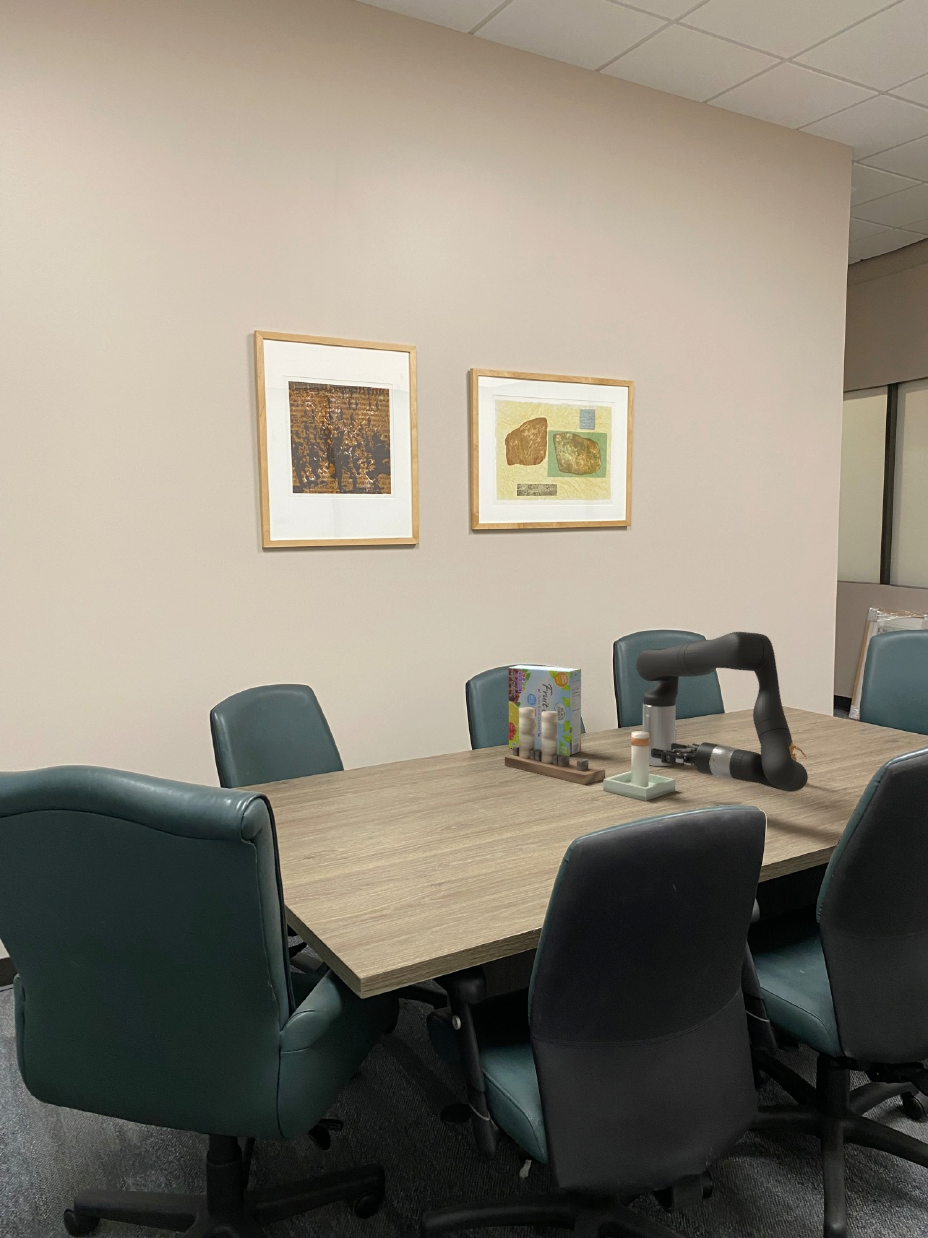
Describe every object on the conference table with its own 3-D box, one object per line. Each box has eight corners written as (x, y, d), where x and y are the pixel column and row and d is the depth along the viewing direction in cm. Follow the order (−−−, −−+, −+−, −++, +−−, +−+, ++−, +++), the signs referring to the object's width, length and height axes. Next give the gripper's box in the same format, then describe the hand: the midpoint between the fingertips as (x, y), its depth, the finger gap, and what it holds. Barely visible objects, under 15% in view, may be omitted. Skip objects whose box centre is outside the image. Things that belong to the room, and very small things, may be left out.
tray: (633, 781, 234) (633, 770, 234) (675, 790, 225) (675, 779, 224) (603, 790, 225) (603, 779, 225) (645, 801, 216) (646, 789, 215)
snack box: (582, 751, 268) (583, 668, 266) (570, 757, 261) (570, 671, 259) (520, 743, 280) (520, 663, 278) (507, 748, 273) (506, 666, 271)
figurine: (810, 783, 231) (811, 738, 230) (802, 788, 226) (803, 742, 225) (779, 778, 236) (780, 734, 235) (770, 783, 231) (771, 738, 230)
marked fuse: (637, 783, 228) (638, 730, 227) (652, 786, 225) (653, 733, 224) (627, 786, 225) (627, 732, 224) (641, 790, 222) (642, 735, 221)
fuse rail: (525, 760, 258) (525, 704, 257) (605, 778, 237) (605, 718, 236) (504, 765, 252) (504, 708, 250) (584, 784, 231) (584, 722, 229)
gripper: (735, 740, 211) (678, 730, 223) (703, 749, 202) (645, 739, 213) (735, 771, 212) (677, 760, 224) (703, 781, 202) (644, 769, 214)
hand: (661, 749), depth 219 cm, fingers open, 8 cm apart
